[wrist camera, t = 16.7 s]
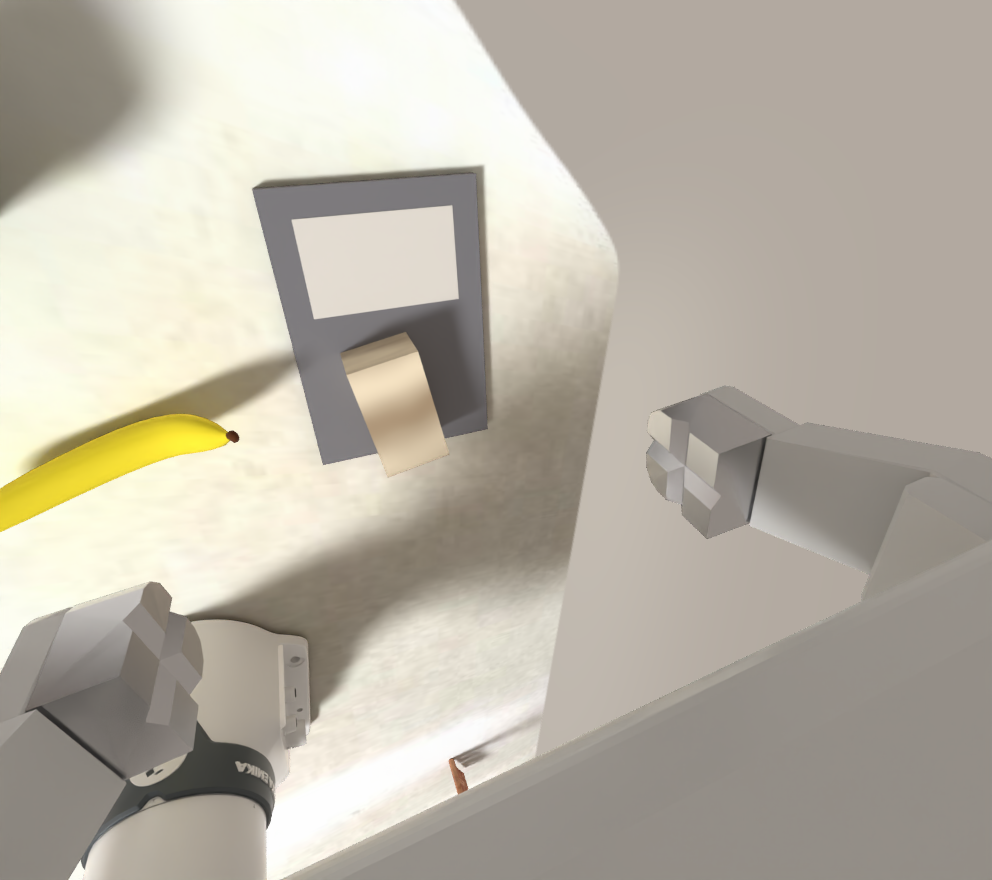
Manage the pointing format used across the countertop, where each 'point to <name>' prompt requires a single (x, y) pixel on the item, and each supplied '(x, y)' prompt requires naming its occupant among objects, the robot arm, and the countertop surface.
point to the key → (458, 777)
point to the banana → (107, 462)
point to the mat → (380, 292)
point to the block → (396, 402)
